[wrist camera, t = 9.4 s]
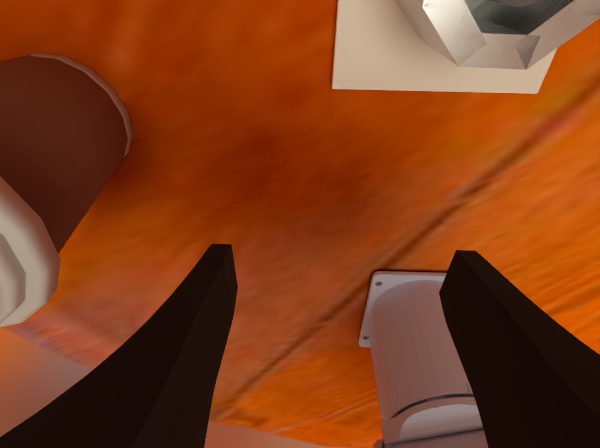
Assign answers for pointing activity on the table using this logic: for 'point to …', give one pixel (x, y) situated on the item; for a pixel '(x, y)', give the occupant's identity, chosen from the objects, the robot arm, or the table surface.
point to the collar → (498, 29)
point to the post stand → (413, 55)
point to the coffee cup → (50, 168)
